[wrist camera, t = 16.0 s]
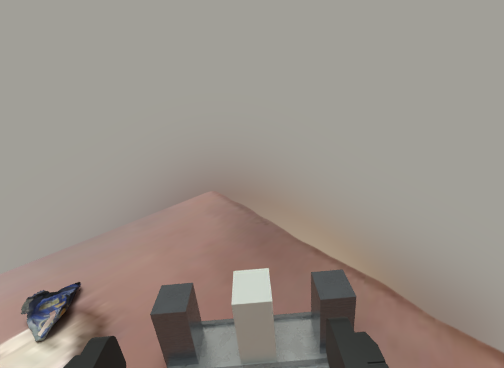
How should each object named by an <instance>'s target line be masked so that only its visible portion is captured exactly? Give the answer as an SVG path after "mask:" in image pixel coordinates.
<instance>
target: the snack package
mask: <svg viewBox="0 0 504 368" xmlns="http://www.w3.org/2000/svg"><path fill="white" fill-rule="evenodd" d="M80 285H81V284H80V282H78V283H75V284H72V285H69V286H67V287H65V288H63V289H61V290H59V291H58V292H51V293H49V291H44V290H43V291H40V292H37V294H34V295H33V296H32V297H28V298H27V300H26V302H25V303H24V304H23V306H22V309H21V310H22V312H21V314H26V313H27V314H28V315H27V318H28V319H27V323H28V326H29V328H30V329H31V330H32V332H33V336H34V337H35V341H43V340H44V339H45V338H46V336H47V334H48V332H49V330H50V329H51V327H52V326H53V325H55V323H56V322H57V321H58V319H59V318H60V317H61V316H62V315H63V314H64V313H65V312H66V310H67V309H68V308H69V306H70V303H71V301H72V299H73V297H74V295H75V292H76V290H77V289H78V288H79V287H80ZM79 291H80V290H79ZM54 310H55V312H56V315H55V318H54V319H53V321H52V322H51V323H50V324H49V326H48V327H47V328H46V329H45V331H44V332H43V333H42V335H41V336H38V332H40V330H41V329H42V327H43V325H44V324H45V322H46V321H47V320H48V318H50V315H49V313H50V312H52V311H54Z"/></svg>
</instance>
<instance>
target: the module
mask: <svg viewBox="0 0 504 368" xmlns="http://www.w3.org/2000/svg"><path fill="white" fill-rule="evenodd" d="M232 310H233V317H234V323H235V329H236V336H237V342H238V348H239V355H240V361H241V364H248V363H261V362H273V361H277V355H276V342H275V329H274V317H273V304H272V295H271V286H270V277H269V269H268V268H265V269H254V270H242V271H234V274H233V290H232Z"/></svg>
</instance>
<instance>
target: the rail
mask: <svg viewBox="0 0 504 368" xmlns="http://www.w3.org/2000/svg"><path fill="white" fill-rule="evenodd" d="M355 306H356V295H355V293H354V291H353V289H352V287H351V285H350V283H349V281H348V279H347V277H346V275H345V273H344V271H343V270H332V271H321V272H311V312H304V313H293V314H281V315H273V317H274V329H275V342H276V355H277V361H273V362H261V363H248V364H241V361H240V355H239V348H238V342H237V336H236V329H235V323H234V319H223V320H212V321H201V317H200V313H199V308H198V304H197V299H196V295H195V290H194V286H193V283H185V284H174V285H162V286H161V289H160V291H159V294H158V296H157V299H156V301H155V304H154V306H153V309H152V311H151V314H150V315H151V319H152V322H153V325H154V328H155V331H156V334H157V337H158V340H159V343H160V347H161V350H162V353H163V356H164V359H165V362H166V365H167V368H330V367H329V364H328V359H327V354H326V319H327V318H336V317H347V318H348V319H349V321H350V323H351V325H352V328H353V330H354V319H355Z"/></svg>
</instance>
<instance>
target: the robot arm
mask: <svg viewBox="0 0 504 368" xmlns="http://www.w3.org/2000/svg"><path fill="white" fill-rule="evenodd" d="M326 354H327V359H328V364H329V367H330V368H389V367H388V365H387V364H386V362H385V359H384V357H383V355H382V353H381V351H380V349H379V347H378V345H377V344H376V343H375V342H374V341H373V340H372V339H371V338H370V336H369V335H368V334H367V333H366V332H357V333H355V332H354V330H353V328H352V325H351V323H350V321H349V319H348V318H347V317H336V318H327V319H326ZM64 368H126V361H125V359H124V356H123V354H122V351H121V349H120V346H119V344H118V341H117V339H116V337H115V336H106V337H95V338H92V339H90V340H89V342H88V343H87V345H86V346H85V348H84V350H83V351H82V353H81V355H77V356H74V357H73V358H72V359H71V360H70V361H69V362H68V363H67V364H66V365H65V366H64Z"/></svg>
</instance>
